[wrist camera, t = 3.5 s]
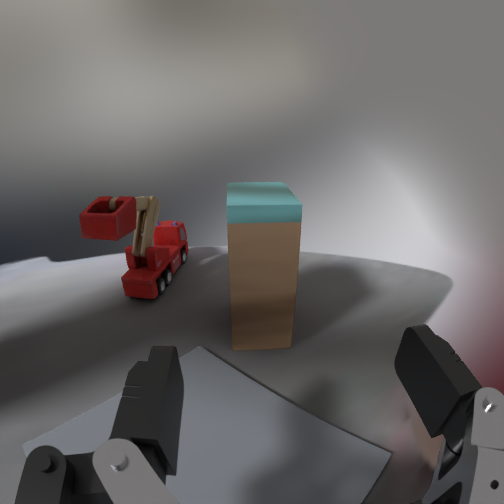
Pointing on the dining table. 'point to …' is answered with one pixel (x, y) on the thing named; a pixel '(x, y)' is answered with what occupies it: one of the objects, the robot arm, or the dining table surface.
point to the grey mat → (241, 443)
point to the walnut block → (262, 263)
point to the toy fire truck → (139, 241)
